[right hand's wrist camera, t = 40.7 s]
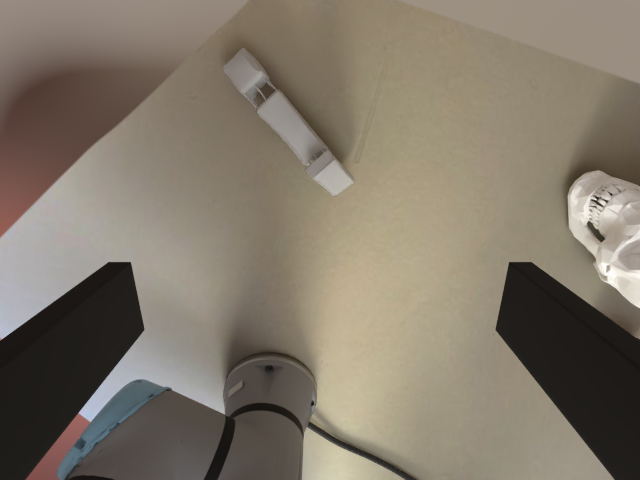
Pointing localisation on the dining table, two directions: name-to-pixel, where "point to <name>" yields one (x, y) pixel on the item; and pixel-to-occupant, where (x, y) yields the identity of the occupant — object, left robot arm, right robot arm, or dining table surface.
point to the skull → (609, 228)
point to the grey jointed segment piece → (288, 123)
